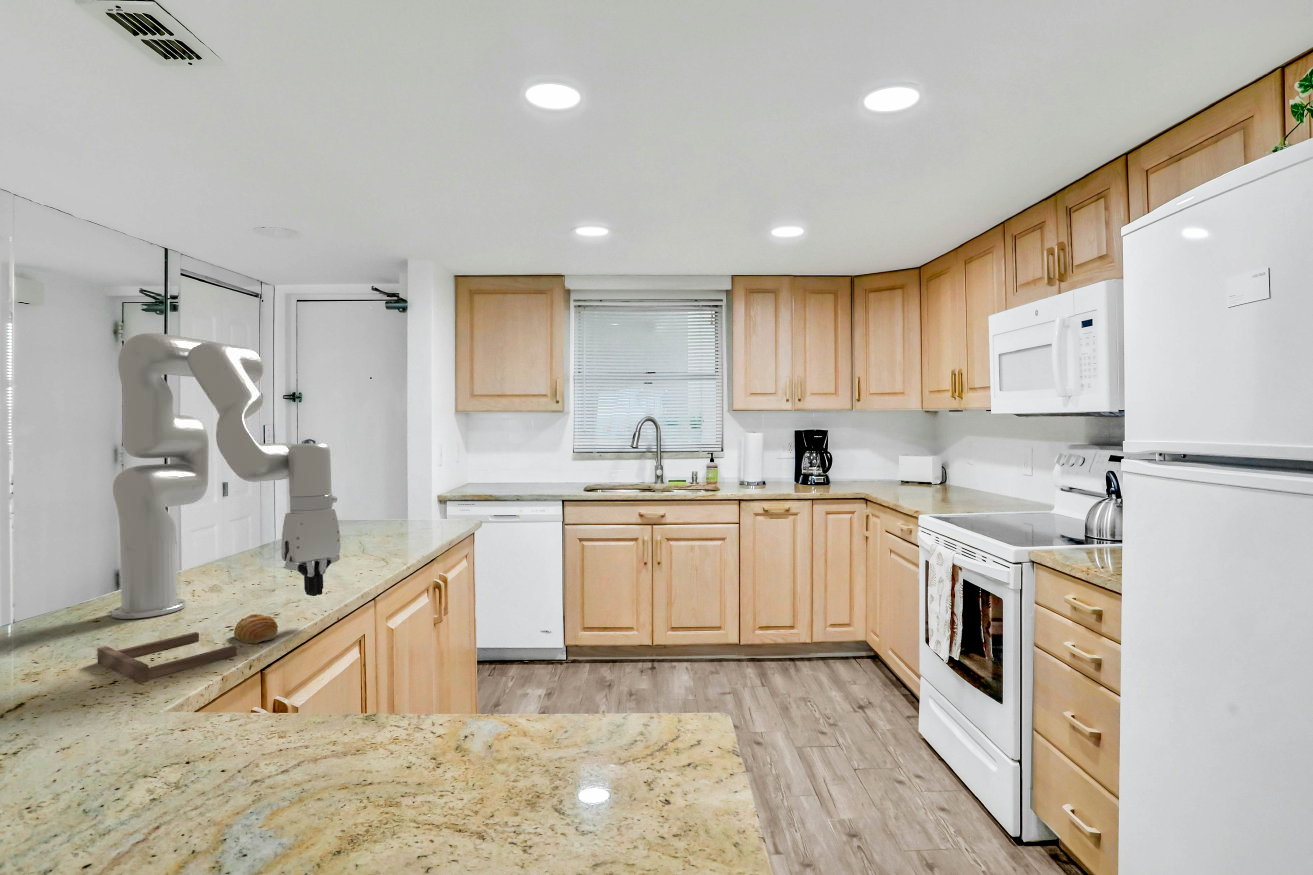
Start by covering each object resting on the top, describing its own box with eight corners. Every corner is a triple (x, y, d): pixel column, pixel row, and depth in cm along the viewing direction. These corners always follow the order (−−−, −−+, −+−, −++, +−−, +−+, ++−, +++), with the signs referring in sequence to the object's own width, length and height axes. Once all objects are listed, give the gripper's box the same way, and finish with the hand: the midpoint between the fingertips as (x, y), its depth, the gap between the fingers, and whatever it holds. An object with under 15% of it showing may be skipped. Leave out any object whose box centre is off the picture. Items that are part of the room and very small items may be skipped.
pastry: (286, 639, 120) (285, 619, 120) (244, 648, 115) (244, 627, 115) (270, 629, 127) (270, 609, 127) (230, 637, 122) (230, 617, 122)
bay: (97, 662, 108) (97, 647, 108) (194, 639, 120) (193, 625, 120) (139, 683, 99) (139, 667, 99) (239, 655, 111) (238, 641, 111)
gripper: (335, 499, 138) (338, 584, 138) (262, 507, 126) (265, 601, 126) (356, 501, 134) (359, 588, 134) (283, 509, 122) (286, 605, 122)
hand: (314, 594), depth 130 cm, fingers closed
